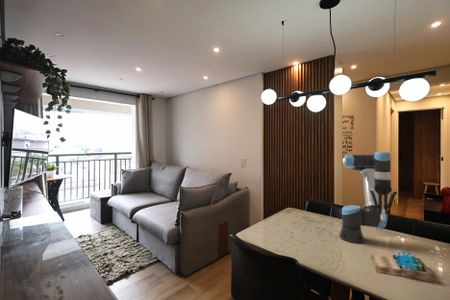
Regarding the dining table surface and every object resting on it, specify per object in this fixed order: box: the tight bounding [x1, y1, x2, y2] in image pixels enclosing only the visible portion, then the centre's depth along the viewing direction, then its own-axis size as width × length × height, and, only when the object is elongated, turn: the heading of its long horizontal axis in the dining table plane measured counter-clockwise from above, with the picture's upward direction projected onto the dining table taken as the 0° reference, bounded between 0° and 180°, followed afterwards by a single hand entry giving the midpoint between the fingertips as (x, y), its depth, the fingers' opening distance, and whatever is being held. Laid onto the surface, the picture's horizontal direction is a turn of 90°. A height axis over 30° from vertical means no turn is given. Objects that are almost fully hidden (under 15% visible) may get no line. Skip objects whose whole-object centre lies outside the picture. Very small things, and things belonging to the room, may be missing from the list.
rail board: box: [369, 253, 434, 283], centre depth 116 cm, size 23×16×4 cm
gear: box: [394, 251, 422, 270], centre depth 116 cm, size 11×6×10 cm
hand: (382, 219), depth 123 cm, fingers closed
